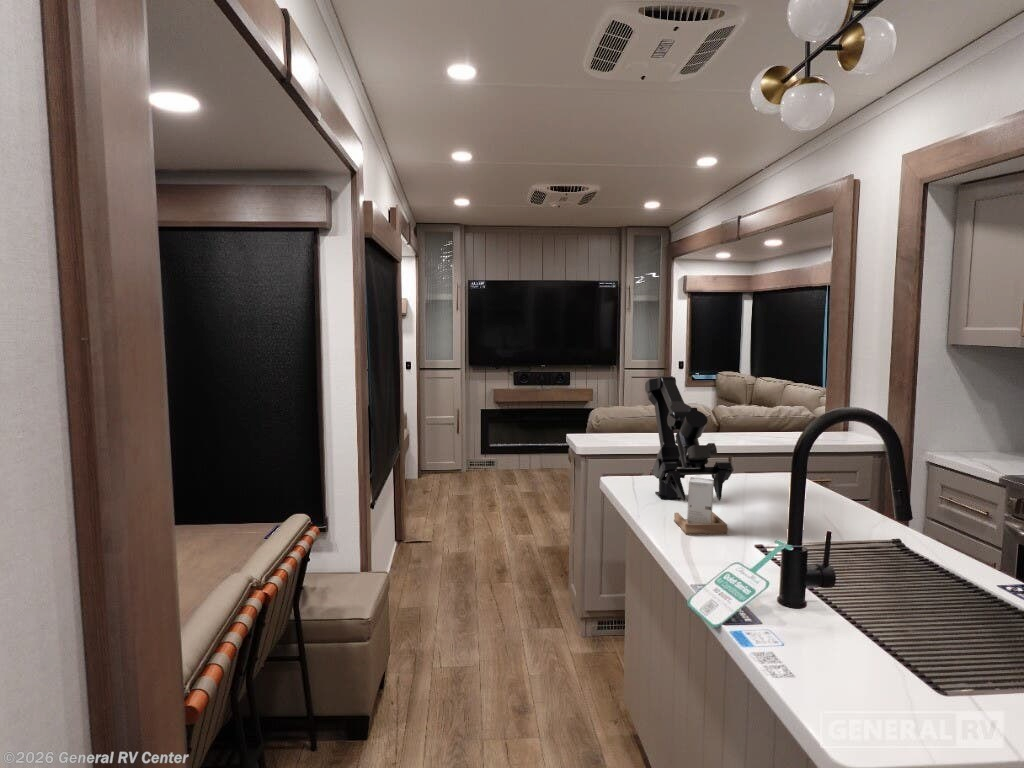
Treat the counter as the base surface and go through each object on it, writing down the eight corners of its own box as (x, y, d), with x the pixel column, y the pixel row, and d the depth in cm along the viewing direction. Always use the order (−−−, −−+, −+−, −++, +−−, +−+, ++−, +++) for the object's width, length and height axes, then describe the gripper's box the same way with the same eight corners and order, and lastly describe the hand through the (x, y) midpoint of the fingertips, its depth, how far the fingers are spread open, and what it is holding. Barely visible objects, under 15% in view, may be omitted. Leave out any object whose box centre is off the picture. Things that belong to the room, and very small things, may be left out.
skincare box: (686, 526, 153) (687, 480, 152) (688, 521, 158) (689, 476, 156) (711, 529, 151) (712, 483, 150) (712, 524, 155) (714, 479, 154)
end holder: (673, 521, 159) (673, 512, 159) (711, 520, 160) (712, 511, 159) (686, 534, 149) (686, 525, 149) (727, 534, 149) (727, 524, 149)
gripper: (661, 432, 155) (673, 484, 146) (732, 431, 156) (748, 484, 146) (653, 455, 164) (663, 506, 154) (719, 454, 165) (734, 505, 155)
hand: (702, 500), depth 152 cm, fingers open, 9 cm apart
